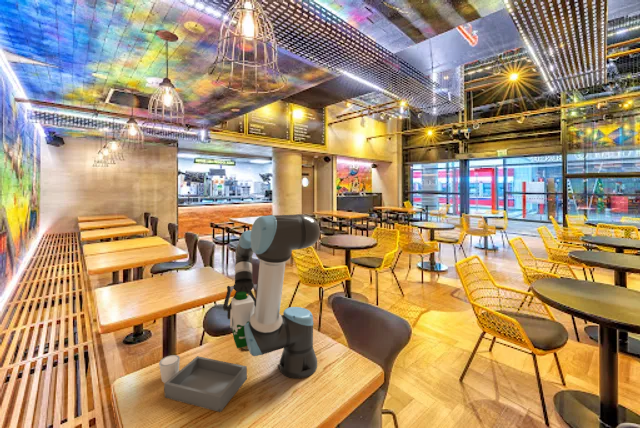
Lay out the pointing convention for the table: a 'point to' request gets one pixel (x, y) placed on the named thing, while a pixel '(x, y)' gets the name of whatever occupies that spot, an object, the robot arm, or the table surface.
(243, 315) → the soya milk
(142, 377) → the table surface
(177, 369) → the white round container
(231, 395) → the bin
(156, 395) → the table surface
